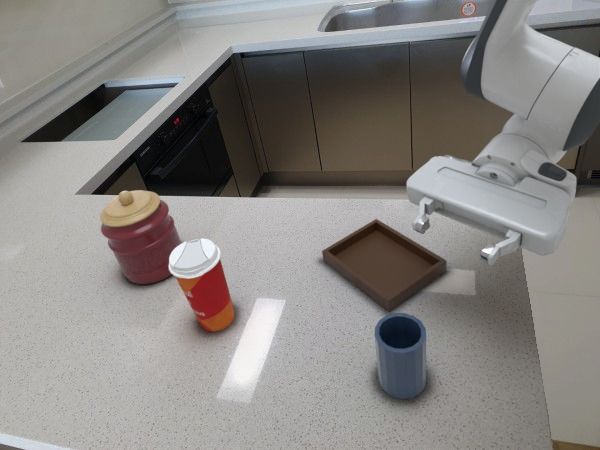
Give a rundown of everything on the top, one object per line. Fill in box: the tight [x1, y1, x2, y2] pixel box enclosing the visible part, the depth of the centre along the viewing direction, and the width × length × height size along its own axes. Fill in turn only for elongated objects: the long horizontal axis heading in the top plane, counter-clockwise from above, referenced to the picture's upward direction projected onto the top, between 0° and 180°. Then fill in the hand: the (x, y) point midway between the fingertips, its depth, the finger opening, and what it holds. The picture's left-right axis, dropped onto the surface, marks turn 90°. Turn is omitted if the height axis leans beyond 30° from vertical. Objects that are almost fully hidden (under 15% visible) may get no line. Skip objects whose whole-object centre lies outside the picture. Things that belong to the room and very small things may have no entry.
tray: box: [321, 218, 448, 313], centre depth 83 cm, size 18×14×2 cm
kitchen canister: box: [99, 189, 184, 285], centre depth 89 cm, size 13×13×18 cm
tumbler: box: [374, 312, 427, 400], centre depth 62 cm, size 6×6×10 cm
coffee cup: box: [169, 237, 235, 333], centre depth 75 cm, size 8×8×15 cm
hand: (449, 243), depth 57 cm, fingers open, 8 cm apart
